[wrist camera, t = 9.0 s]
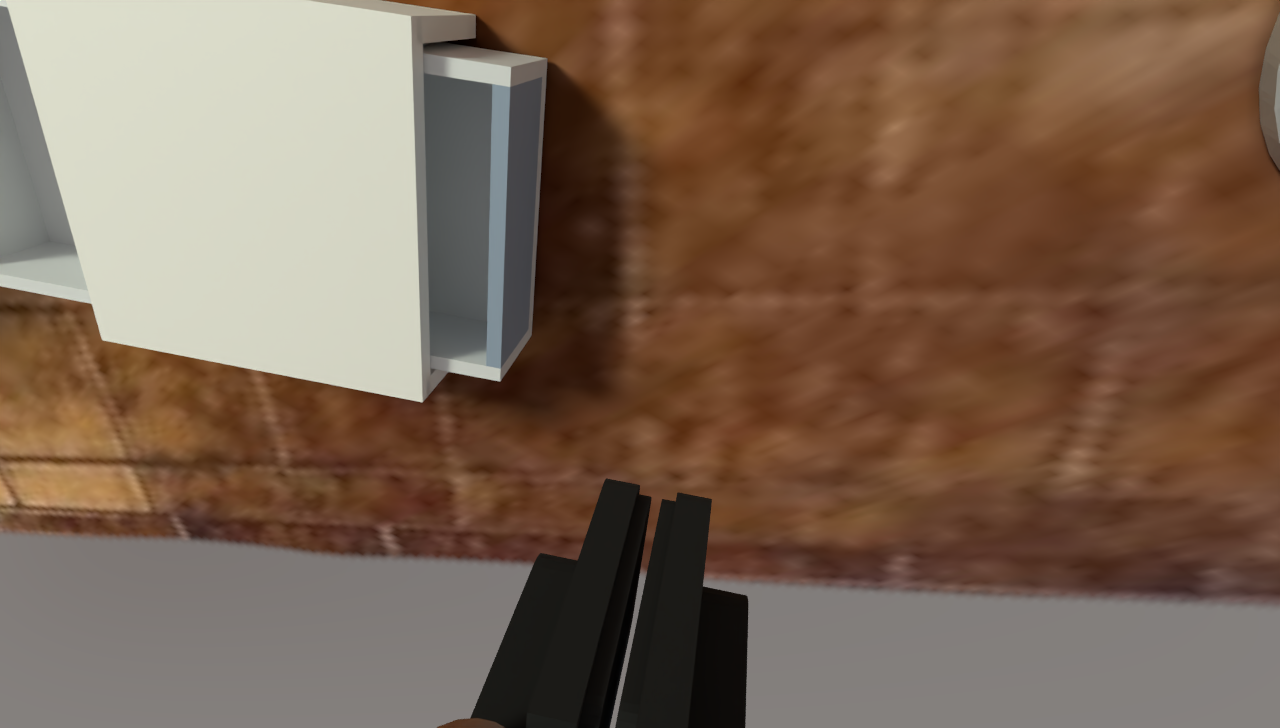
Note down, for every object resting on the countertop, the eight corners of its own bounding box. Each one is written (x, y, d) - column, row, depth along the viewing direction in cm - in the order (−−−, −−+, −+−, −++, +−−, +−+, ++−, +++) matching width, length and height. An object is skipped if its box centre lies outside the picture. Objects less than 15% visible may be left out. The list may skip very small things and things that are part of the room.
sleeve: (476, 14, 26) (410, 16, 21) (472, 343, 32) (422, 402, 27) (130, -38, 26) (-8, -48, 22) (196, 291, 33) (101, 339, 28)
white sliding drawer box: (547, 58, 26) (510, 67, 22) (531, 335, 31) (500, 381, 27) (-31, -32, 27) (-159, -38, 23) (53, 247, 33) (-40, 278, 29)
